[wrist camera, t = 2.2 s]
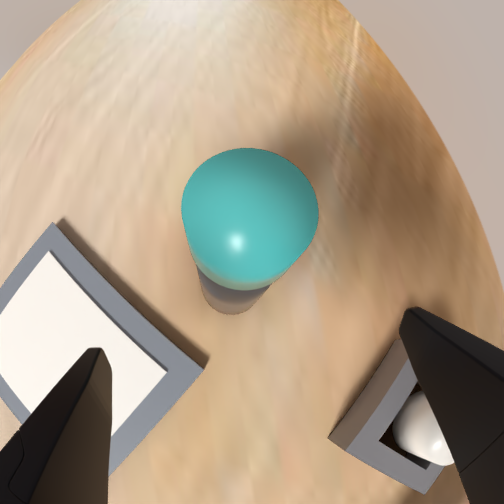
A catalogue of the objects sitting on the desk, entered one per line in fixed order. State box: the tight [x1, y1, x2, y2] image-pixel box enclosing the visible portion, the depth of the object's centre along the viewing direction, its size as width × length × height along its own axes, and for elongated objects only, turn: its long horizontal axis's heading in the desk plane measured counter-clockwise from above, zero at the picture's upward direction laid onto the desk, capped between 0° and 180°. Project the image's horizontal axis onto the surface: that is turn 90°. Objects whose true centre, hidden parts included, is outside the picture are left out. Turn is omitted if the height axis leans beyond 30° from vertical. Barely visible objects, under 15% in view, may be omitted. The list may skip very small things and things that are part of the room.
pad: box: [0, 222, 204, 477], centre depth 16 cm, size 14×12×1 cm
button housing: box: [328, 339, 445, 495], centre depth 17 cm, size 8×8×3 cm
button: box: [393, 391, 454, 466], centre depth 14 cm, size 4×4×4 cm
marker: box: [181, 148, 318, 315], centre depth 14 cm, size 4×4×12 cm
